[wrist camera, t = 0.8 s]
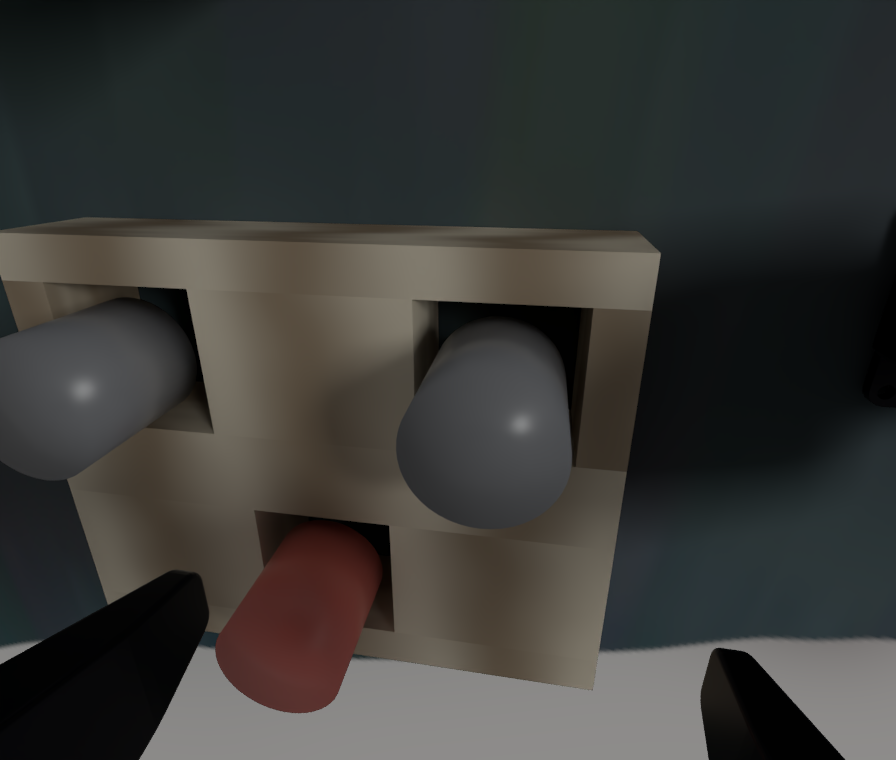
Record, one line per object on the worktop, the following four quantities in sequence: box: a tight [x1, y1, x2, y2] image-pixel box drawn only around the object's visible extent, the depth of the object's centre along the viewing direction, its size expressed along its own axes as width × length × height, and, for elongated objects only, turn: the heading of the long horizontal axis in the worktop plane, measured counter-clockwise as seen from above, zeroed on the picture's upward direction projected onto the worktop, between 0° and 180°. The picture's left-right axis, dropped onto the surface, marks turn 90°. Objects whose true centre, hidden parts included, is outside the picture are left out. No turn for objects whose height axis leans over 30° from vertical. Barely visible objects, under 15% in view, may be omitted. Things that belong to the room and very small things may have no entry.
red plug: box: [215, 520, 383, 713], centre depth 18 cm, size 4×4×4 cm
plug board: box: [0, 217, 661, 690], centre depth 20 cm, size 20×16×4 cm
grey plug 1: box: [0, 297, 197, 481], centre depth 16 cm, size 4×4×4 cm
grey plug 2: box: [396, 316, 572, 529], centre depth 14 cm, size 4×4×4 cm
